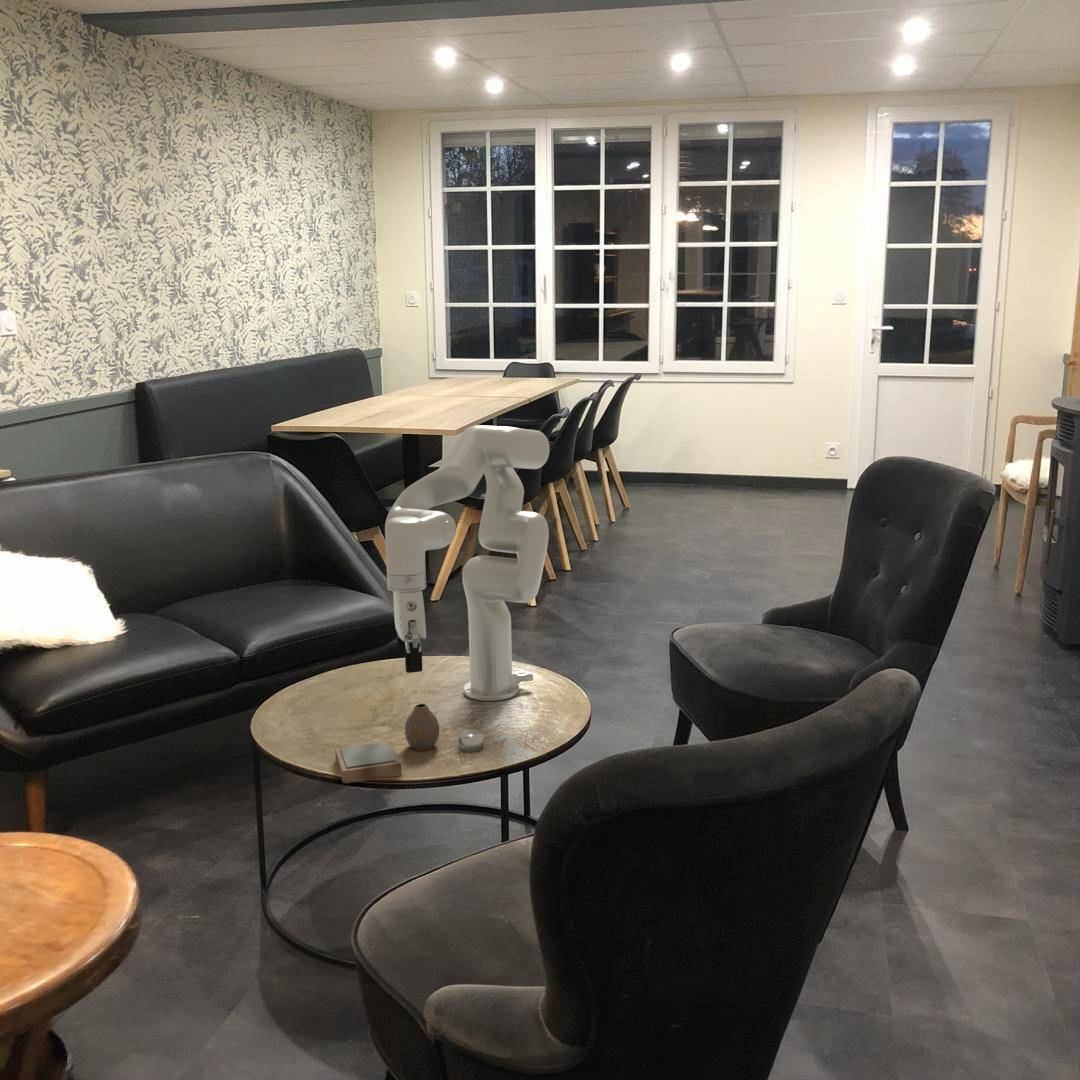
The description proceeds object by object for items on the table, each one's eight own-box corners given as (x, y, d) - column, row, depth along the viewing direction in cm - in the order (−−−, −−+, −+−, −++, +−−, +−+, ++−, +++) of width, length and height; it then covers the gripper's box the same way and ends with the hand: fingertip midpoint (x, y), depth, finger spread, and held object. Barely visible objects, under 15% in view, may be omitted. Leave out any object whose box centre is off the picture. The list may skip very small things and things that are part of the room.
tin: (480, 742, 226) (479, 728, 225) (486, 751, 221) (486, 737, 220) (456, 745, 224) (455, 731, 223) (461, 755, 219) (461, 740, 219)
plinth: (391, 752, 221) (390, 739, 220) (401, 775, 211) (401, 761, 210) (335, 760, 218) (334, 747, 217) (343, 783, 207) (342, 769, 207)
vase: (444, 741, 226) (443, 700, 224) (432, 755, 220) (431, 713, 218) (413, 738, 228) (411, 697, 226) (400, 751, 221) (398, 710, 219)
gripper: (433, 589, 210) (436, 676, 213) (418, 568, 226) (421, 649, 230) (394, 593, 208) (397, 680, 211) (381, 571, 224) (384, 652, 228)
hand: (410, 664), depth 221 cm, fingers open, 9 cm apart
